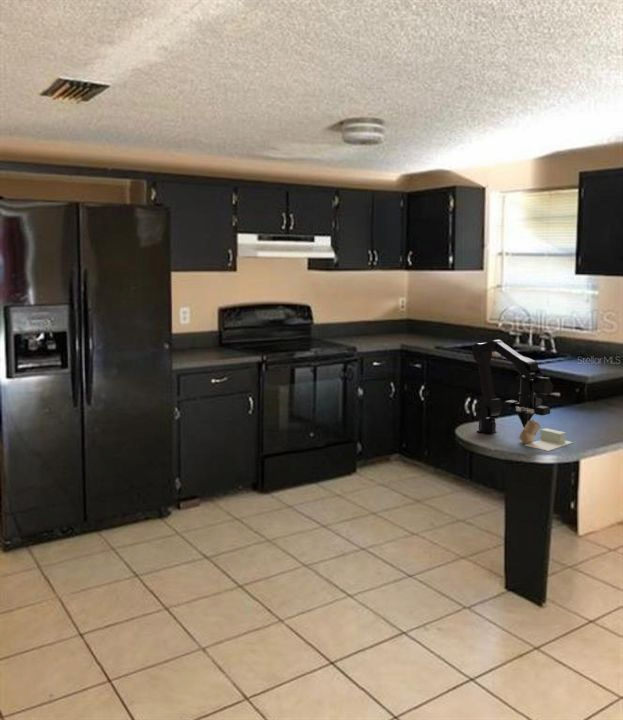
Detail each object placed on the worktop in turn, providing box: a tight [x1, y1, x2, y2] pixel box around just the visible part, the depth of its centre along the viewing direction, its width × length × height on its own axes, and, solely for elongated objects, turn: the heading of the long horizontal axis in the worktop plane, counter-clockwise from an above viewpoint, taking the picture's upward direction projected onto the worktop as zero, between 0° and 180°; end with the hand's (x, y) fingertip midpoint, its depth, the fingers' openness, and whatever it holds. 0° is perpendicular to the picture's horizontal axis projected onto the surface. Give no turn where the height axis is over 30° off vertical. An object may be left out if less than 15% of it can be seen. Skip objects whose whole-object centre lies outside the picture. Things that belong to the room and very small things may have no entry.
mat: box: [524, 439, 574, 452], centre depth 284 cm, size 10×19×1 cm, turn 131°
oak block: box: [518, 419, 542, 445], centre depth 284 cm, size 4×4×9 cm
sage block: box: [539, 427, 567, 443], centre depth 288 cm, size 4×4×9 cm
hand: (525, 427), depth 285 cm, fingers closed
